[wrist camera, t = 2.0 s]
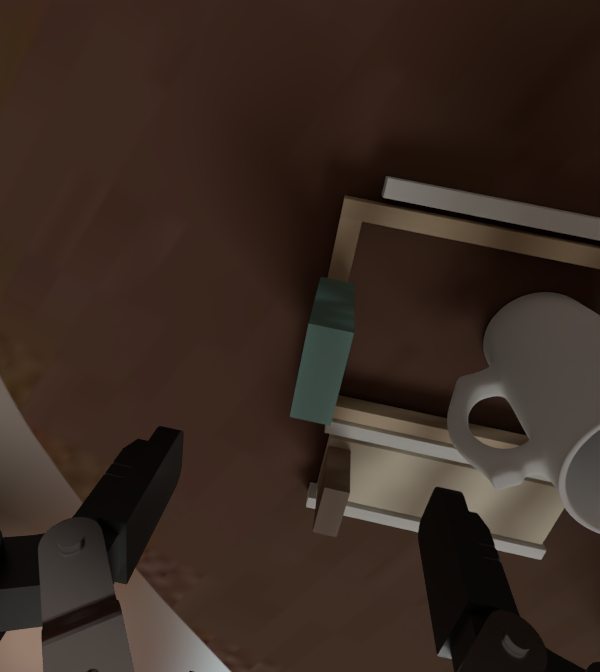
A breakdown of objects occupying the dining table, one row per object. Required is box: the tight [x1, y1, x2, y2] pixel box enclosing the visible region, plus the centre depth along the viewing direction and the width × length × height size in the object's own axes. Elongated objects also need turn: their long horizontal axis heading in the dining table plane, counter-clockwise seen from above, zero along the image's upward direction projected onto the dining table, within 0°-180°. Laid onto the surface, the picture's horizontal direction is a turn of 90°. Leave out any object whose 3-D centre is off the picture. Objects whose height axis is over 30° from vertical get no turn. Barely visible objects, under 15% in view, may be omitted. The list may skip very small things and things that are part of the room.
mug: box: [447, 292, 600, 534], centre depth 21 cm, size 10×7×12 cm, turn 112°
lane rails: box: [306, 176, 600, 560], centre depth 28 cm, size 18×24×2 cm
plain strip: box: [313, 434, 565, 545], centre depth 29 cm, size 17×5×5 cm, turn 80°
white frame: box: [290, 195, 600, 449], centre depth 23 cm, size 19×14×8 cm
